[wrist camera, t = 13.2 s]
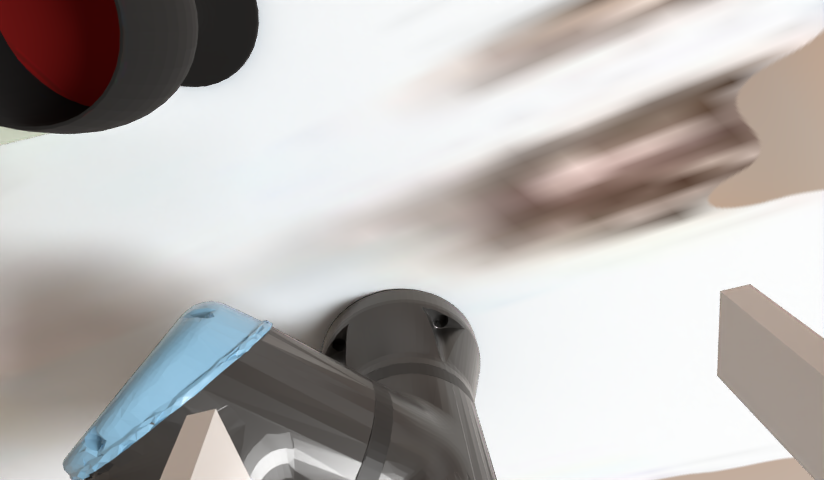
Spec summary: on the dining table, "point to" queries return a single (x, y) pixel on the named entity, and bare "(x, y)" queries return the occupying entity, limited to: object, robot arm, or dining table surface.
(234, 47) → the wine glass
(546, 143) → the dining table surface
